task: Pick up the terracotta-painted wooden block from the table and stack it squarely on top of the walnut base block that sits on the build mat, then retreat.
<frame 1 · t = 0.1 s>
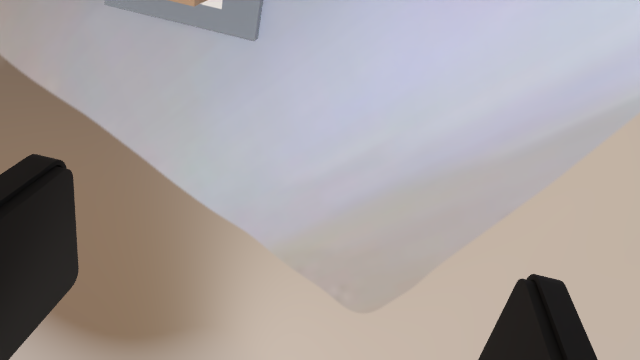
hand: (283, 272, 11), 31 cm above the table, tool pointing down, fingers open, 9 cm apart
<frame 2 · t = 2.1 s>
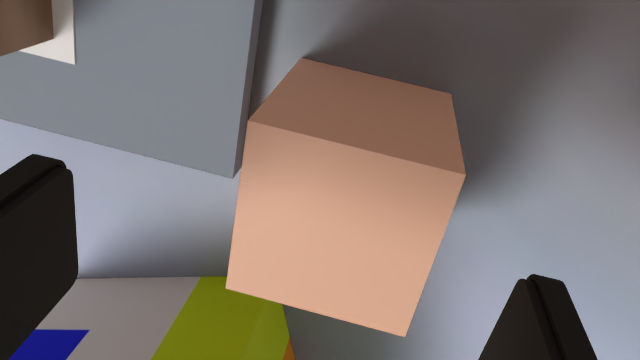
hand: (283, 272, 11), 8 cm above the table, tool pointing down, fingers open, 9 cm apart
puzzle toy: (197, 357, 24), on the table
top block: (358, 143, 18), on the table
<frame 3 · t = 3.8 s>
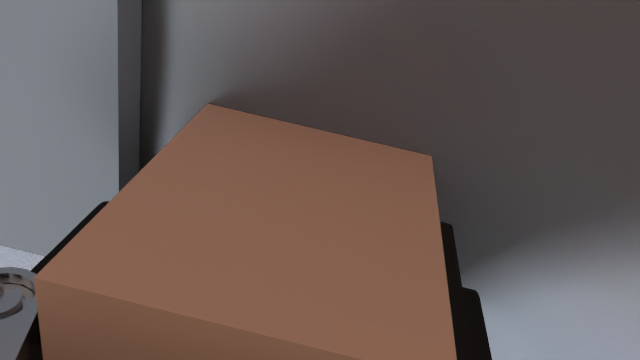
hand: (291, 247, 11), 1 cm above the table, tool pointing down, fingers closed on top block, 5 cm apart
top block: (299, 223, 12), on the table, touching gripper
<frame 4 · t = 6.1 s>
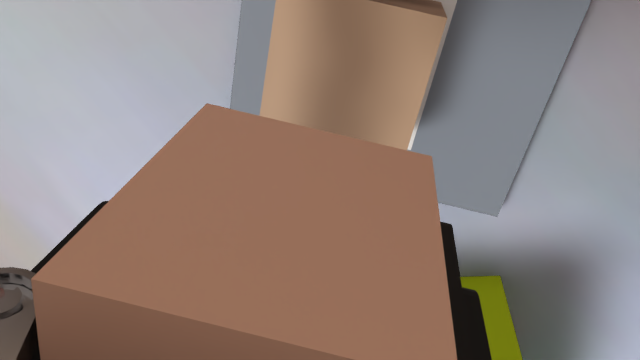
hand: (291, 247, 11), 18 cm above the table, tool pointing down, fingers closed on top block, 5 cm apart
puzzle toy: (423, 332, 35), on the table
top block: (299, 223, 12), point 17 cm above the table, touching gripper
build mat: (386, 79, 27), on the table
base block: (352, 57, 26), point 1 cm above the table, touching build mat
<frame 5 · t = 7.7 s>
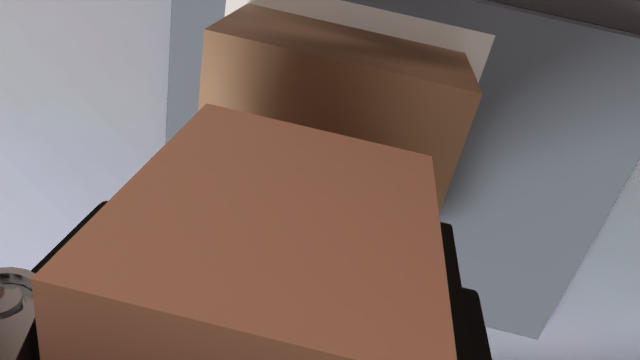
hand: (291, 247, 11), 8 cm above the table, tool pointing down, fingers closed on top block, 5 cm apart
top block: (299, 223, 12), point 7 cm above the table, touching gripper
build mat: (383, 154, 19), on the table
base block: (333, 128, 18), point 1 cm above the table, touching build mat
when the fingers open (7 cm above the table, at t = 8.7 s): top block drops 1 cm, resting on base block.
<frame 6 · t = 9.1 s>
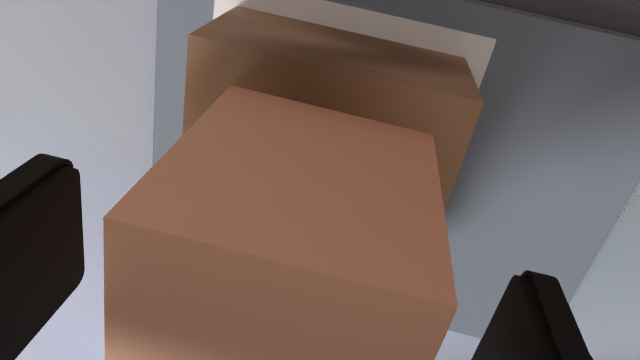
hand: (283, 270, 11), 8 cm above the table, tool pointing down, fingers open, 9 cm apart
top block: (311, 196, 13), point 5 cm above the table, touching base block
build mat: (380, 162, 18), on the table
base block: (327, 136, 17), point 1 cm above the table, touching build mat, top block
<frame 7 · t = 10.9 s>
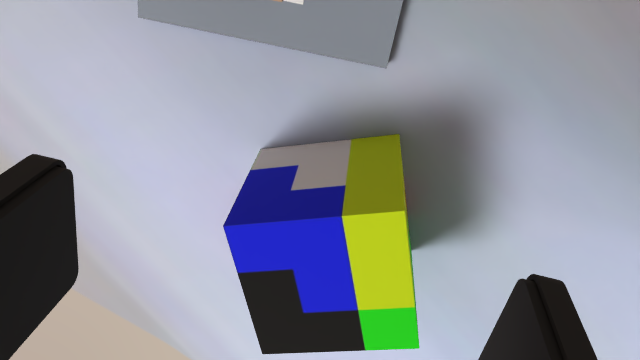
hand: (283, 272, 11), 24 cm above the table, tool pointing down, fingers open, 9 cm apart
puzzle toy: (338, 199, 39), on the table
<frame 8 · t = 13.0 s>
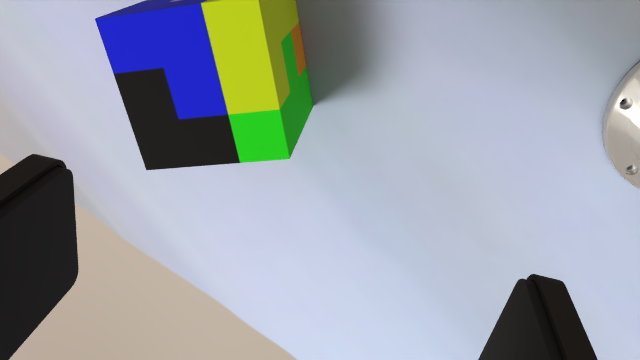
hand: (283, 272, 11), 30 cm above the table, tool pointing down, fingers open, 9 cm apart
puzzle toy: (241, 50, 40), on the table
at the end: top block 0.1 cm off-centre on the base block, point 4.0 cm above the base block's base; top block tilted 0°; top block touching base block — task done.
